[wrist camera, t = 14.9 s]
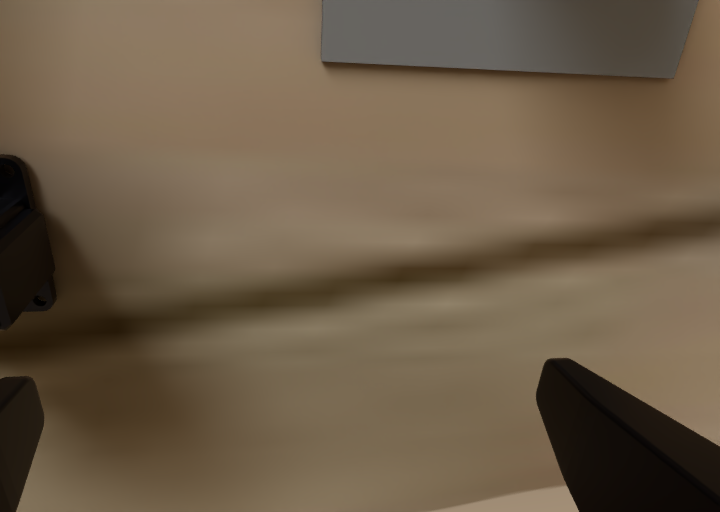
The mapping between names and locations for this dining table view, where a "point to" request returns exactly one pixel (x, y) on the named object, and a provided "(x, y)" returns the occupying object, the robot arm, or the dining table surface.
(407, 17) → the rubber mat
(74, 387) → the dining table surface
